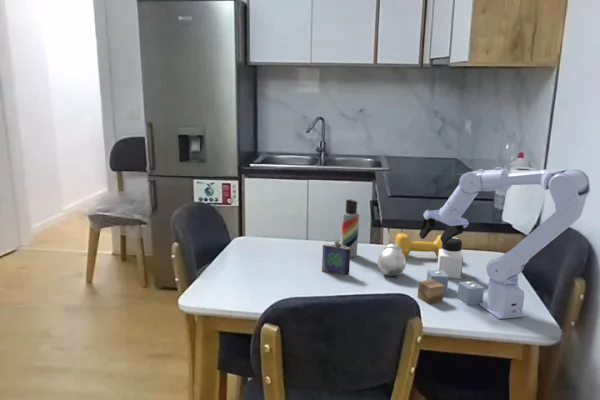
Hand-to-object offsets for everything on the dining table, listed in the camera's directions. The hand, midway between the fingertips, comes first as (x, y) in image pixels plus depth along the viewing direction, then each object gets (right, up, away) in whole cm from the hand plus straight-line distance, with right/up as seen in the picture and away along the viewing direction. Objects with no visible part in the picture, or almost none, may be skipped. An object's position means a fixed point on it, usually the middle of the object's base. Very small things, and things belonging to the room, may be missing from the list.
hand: (431, 238), depth 162 cm
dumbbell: (+3, -9, +28) cm, 29 cm away
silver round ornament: (-11, -12, +10) cm, 19 cm away
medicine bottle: (+9, -13, +12) cm, 19 cm away
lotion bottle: (-23, -8, +27) cm, 36 cm away
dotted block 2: (+9, -17, -8) cm, 21 cm away
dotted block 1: (+2, -15, 0) cm, 15 cm away
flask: (-28, -12, +10) cm, 32 cm away
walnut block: (-2, -17, -8) cm, 19 cm away
